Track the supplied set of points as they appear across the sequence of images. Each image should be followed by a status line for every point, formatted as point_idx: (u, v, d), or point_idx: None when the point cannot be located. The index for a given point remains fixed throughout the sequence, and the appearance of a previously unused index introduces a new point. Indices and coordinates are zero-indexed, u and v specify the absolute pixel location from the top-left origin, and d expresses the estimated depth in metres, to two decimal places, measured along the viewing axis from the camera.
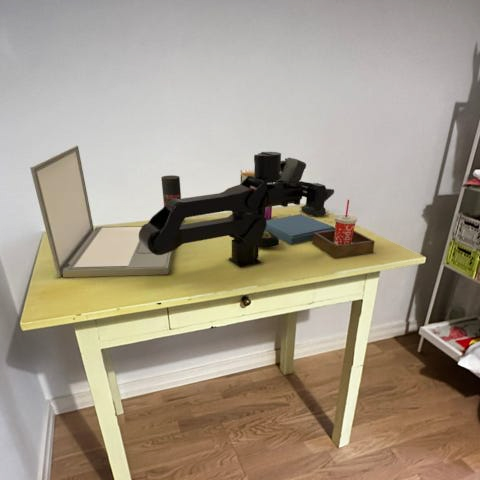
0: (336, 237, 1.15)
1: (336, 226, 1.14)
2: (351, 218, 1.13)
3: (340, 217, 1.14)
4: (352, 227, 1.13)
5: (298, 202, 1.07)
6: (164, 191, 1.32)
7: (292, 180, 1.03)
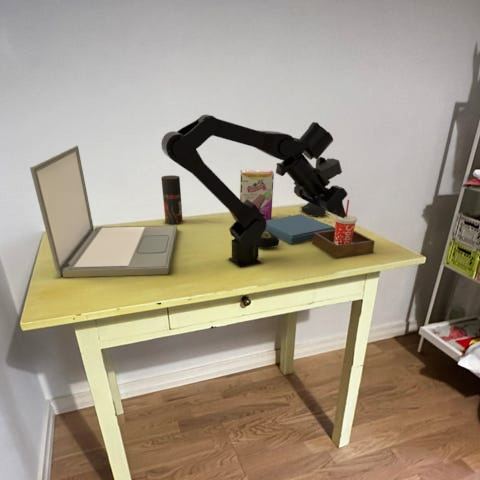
0: (336, 237, 1.15)
1: (336, 226, 1.14)
2: (351, 218, 1.13)
3: (340, 217, 1.14)
4: (352, 227, 1.13)
5: (313, 197, 1.04)
6: (164, 191, 1.32)
7: (323, 172, 1.02)
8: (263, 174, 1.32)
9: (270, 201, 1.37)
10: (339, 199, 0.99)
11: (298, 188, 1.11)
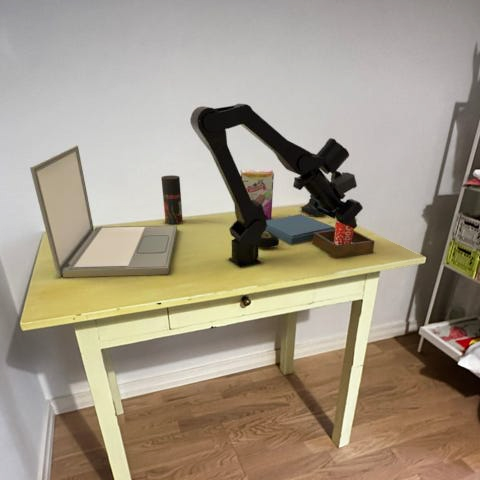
0: (336, 237, 1.15)
1: (336, 226, 1.14)
2: None
3: None
4: None
5: (329, 210, 1.07)
6: (164, 191, 1.32)
7: (339, 186, 1.05)
8: (263, 174, 1.32)
9: (270, 201, 1.37)
10: (355, 212, 1.02)
11: (313, 200, 1.14)
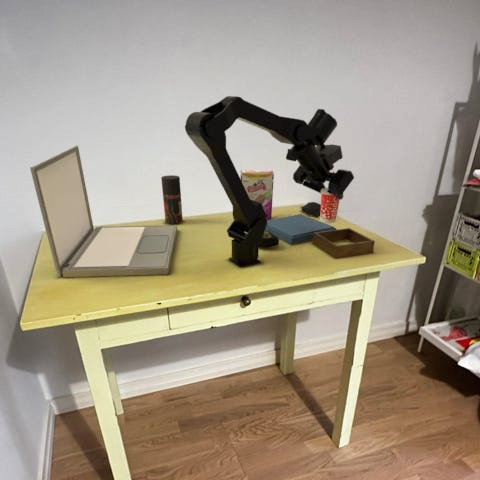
0: (323, 210, 1.17)
1: (323, 199, 1.16)
2: None
3: (325, 190, 1.16)
4: None
5: (320, 181, 1.09)
6: (164, 191, 1.32)
7: (328, 157, 1.07)
8: (263, 174, 1.32)
9: (270, 201, 1.37)
10: (348, 181, 1.05)
11: (298, 174, 1.15)
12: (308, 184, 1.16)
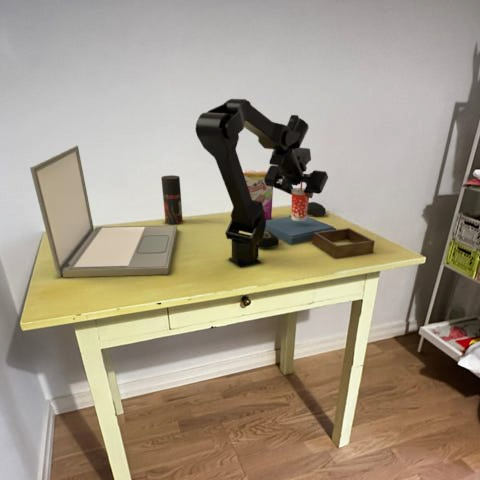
0: (296, 209, 1.24)
1: (295, 199, 1.23)
2: None
3: (295, 190, 1.23)
4: (308, 197, 1.24)
5: (297, 182, 1.15)
6: (164, 191, 1.32)
7: (302, 159, 1.14)
8: (263, 174, 1.32)
9: (270, 201, 1.37)
10: (324, 181, 1.13)
11: (271, 177, 1.20)
12: (280, 186, 1.21)
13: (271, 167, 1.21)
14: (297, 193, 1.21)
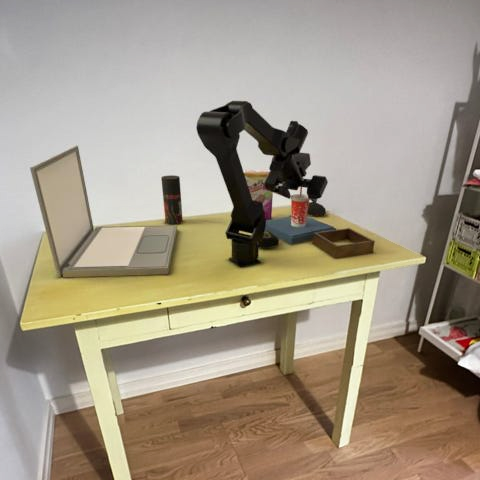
0: (296, 215, 1.25)
1: (295, 205, 1.24)
2: (304, 196, 1.25)
3: (295, 197, 1.24)
4: (308, 204, 1.25)
5: (297, 187, 1.16)
6: (164, 191, 1.32)
7: (302, 165, 1.15)
8: (263, 174, 1.32)
9: (270, 201, 1.37)
10: (324, 186, 1.14)
11: (271, 182, 1.20)
12: (276, 190, 1.22)
13: (271, 172, 1.22)
14: (297, 200, 1.22)
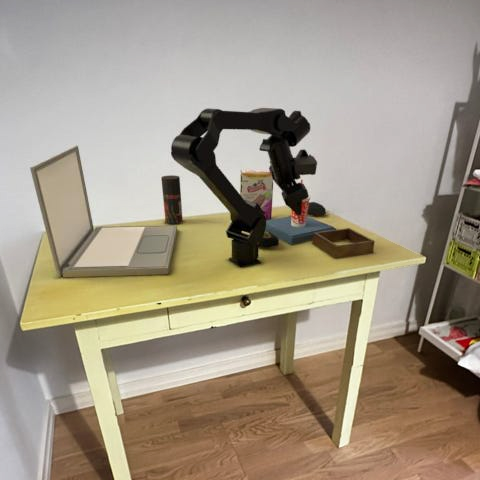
0: (296, 215, 1.25)
1: None
2: None
3: None
4: (308, 204, 1.25)
5: (280, 183, 1.07)
6: (164, 191, 1.32)
7: (298, 166, 1.04)
8: (263, 174, 1.32)
9: (270, 201, 1.37)
10: (299, 198, 1.03)
11: None
12: (275, 179, 1.14)
13: None
14: None
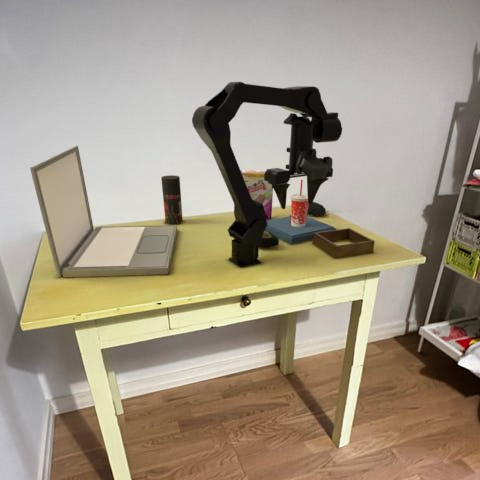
0: (296, 215, 1.25)
1: (295, 205, 1.24)
2: (304, 196, 1.25)
3: (295, 197, 1.24)
4: (308, 204, 1.25)
5: (287, 167, 1.04)
6: (164, 191, 1.32)
7: (302, 159, 0.99)
8: (263, 174, 1.32)
9: (270, 201, 1.37)
10: (271, 178, 1.00)
11: None
12: None
13: None
14: (297, 200, 1.22)
